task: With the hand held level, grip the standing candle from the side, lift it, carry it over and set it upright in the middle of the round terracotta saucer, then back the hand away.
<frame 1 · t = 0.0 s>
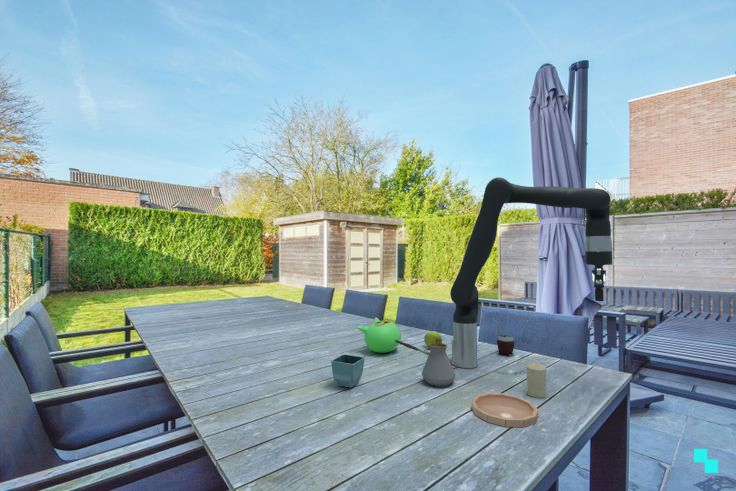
hand: (599, 299, 113), 29 cm above the table, tool pointing down, fingers open, 8 cm apart
saucer: (503, 411, 97), on the table
flower pot: (348, 385, 118), on the table
mate gourd: (504, 354, 151), on the table
candle: (536, 395, 109), on the table
green teapot: (381, 352, 157), on the table
coffee pot: (424, 383, 119), on the table
apple: (433, 349, 161), on the table
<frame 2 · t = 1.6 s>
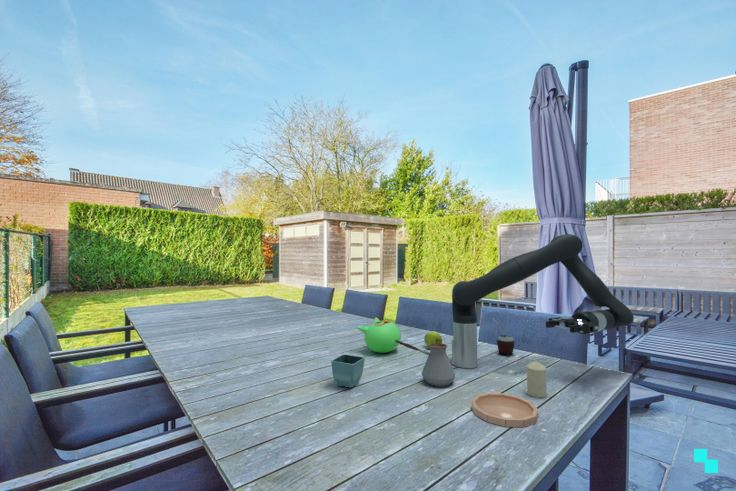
hand: (558, 327, 114), 20 cm above the table, tool horizontal, fingers open, 8 cm apart
nothing on the table moved.
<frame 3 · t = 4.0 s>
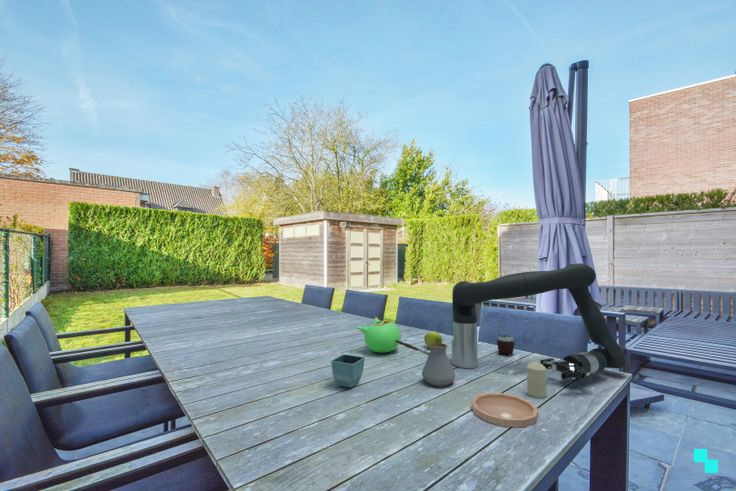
hand: (549, 371, 112), 6 cm above the table, tool horizontal, fingers open, 8 cm apart
nothing on the table moved.
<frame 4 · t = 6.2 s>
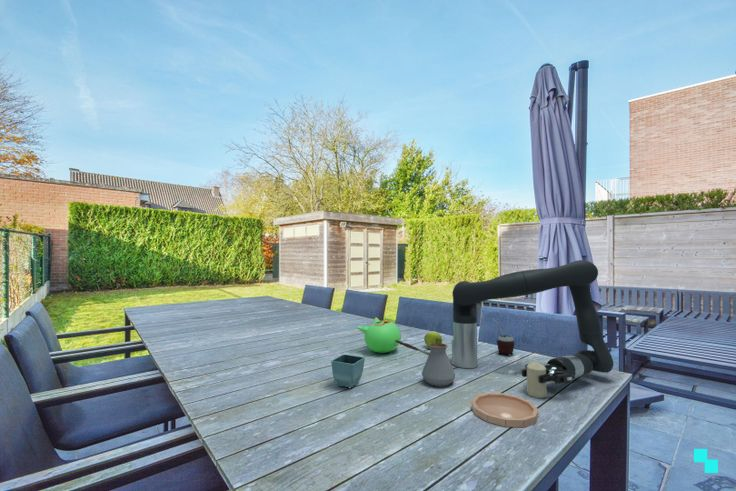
hand: (531, 376, 108), 6 cm above the table, tool horizontal, fingers closed on candle, 5 cm apart
candle: (536, 395, 109), on the table, touching gripper
everything else where it was.
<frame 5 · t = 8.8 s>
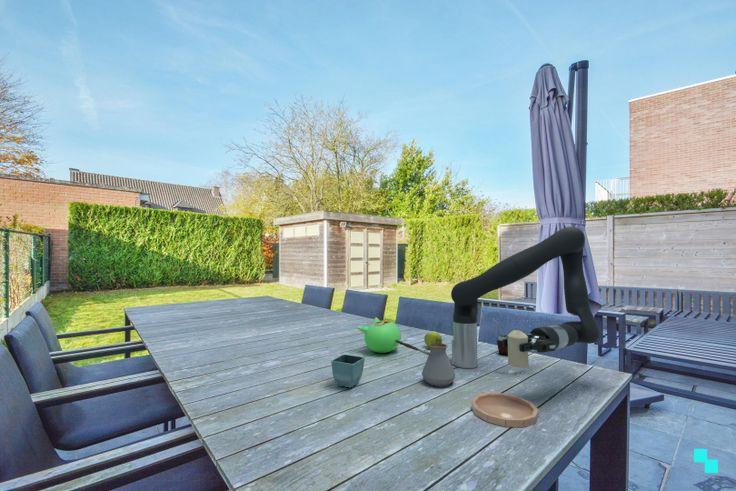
hand: (511, 345, 101), 18 cm above the table, tool horizontal, fingers closed on candle, 5 cm apart
candle: (518, 365, 102), point 12 cm above the table, touching gripper
everything else where it was.
when the fingers open (8 cm above the table, at t = 11.7 s): candle stays where it is, resting on saucer.
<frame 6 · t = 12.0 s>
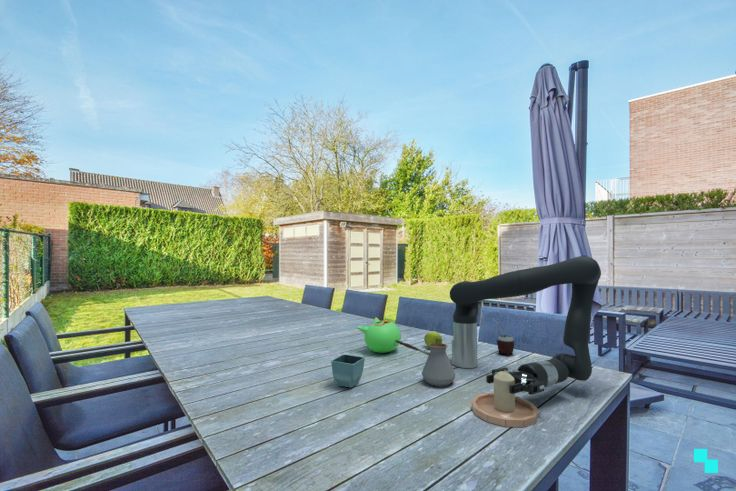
hand: (498, 384, 96), 8 cm above the table, tool horizontal, fingers open, 8 cm apart
candle: (504, 408, 97), point 1 cm above the table, touching saucer
everything else where it was.
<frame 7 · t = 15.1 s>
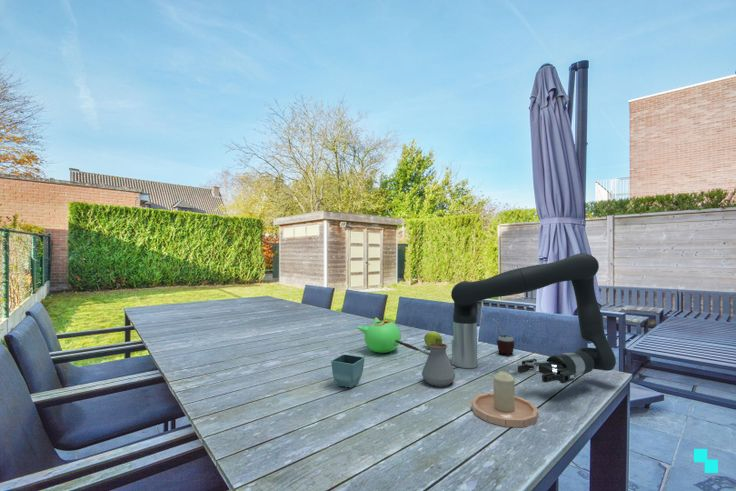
hand: (530, 374, 103), 9 cm above the table, tool horizontal, fingers open, 8 cm apart
nothing on the table moved.
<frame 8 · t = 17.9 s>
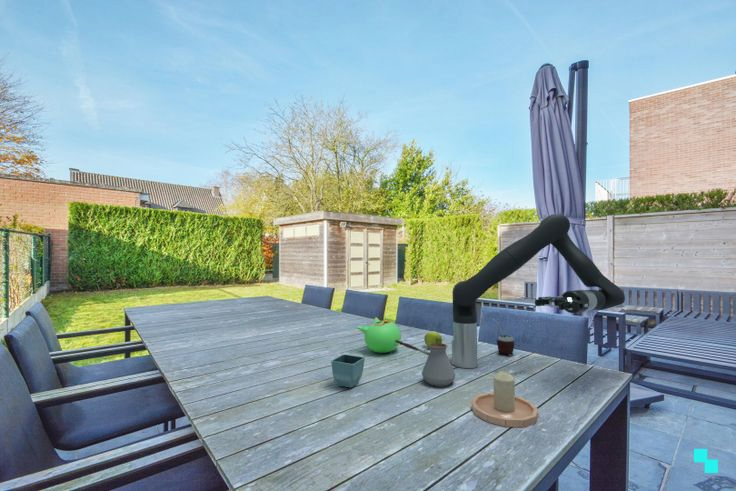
hand: (547, 304, 111), 28 cm above the table, tool horizontal, fingers open, 8 cm apart
nothing on the table moved.
at the end: candle inside the target area on the saucer (0.1 cm from its centre), point 0.8 cm above the saucer's base; candle tilted 0°; the gripper is holding nothing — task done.
